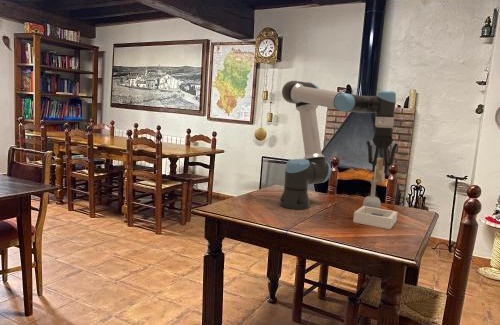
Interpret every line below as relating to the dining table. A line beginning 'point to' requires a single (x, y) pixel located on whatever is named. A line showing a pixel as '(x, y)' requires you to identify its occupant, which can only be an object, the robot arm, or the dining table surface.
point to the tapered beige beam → (379, 170)
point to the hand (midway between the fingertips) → (379, 180)
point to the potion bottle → (372, 197)
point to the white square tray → (375, 217)
